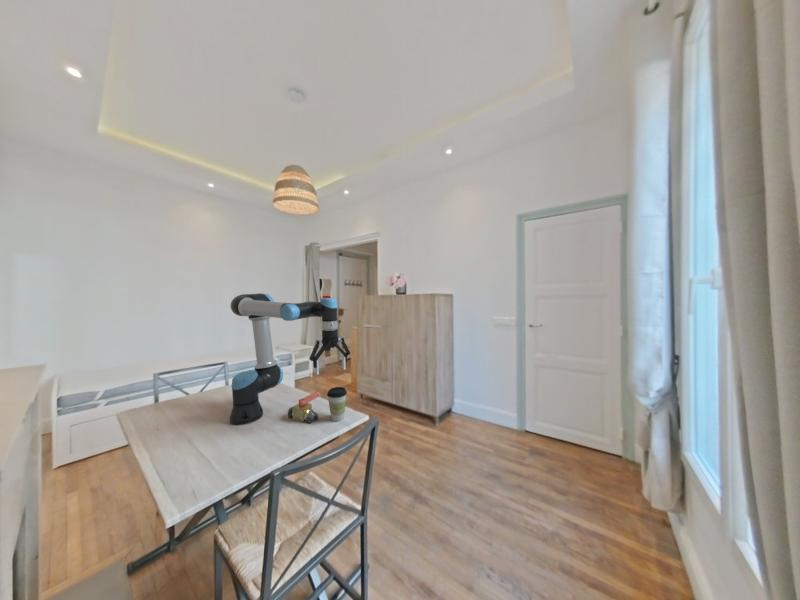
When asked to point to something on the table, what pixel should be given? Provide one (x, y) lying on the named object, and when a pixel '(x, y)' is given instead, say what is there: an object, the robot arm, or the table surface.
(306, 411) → the pipe run
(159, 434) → the table surface
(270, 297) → the robot arm
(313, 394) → the lever
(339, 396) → the coffee cup
